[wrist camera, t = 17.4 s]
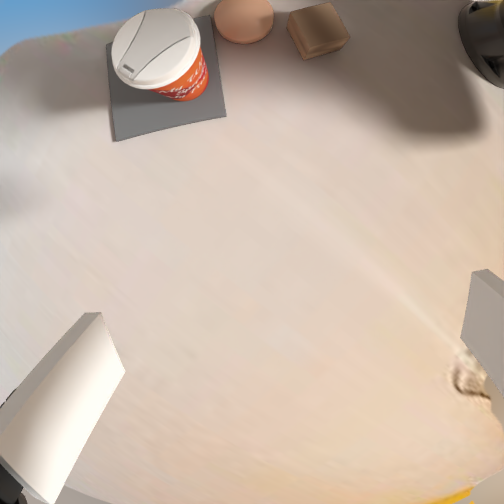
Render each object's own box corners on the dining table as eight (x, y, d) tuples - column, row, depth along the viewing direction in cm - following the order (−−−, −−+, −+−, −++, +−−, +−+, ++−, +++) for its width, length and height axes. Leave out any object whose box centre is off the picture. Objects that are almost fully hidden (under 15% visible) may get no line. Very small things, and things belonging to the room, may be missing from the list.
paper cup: (190, 122, 34) (153, 103, 21) (143, 88, 33) (89, 60, 20) (232, 72, 33) (219, 27, 19) (183, 40, 31) (149, -11, 18)
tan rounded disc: (215, 45, 32) (213, 38, 30) (216, 2, 30) (214, -6, 28) (273, 43, 32) (274, 37, 30) (272, 0, 30) (272, -8, 28)
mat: (210, 17, 31) (210, 15, 30) (226, 116, 35) (225, 115, 34) (108, 45, 32) (106, 44, 31) (118, 141, 36) (116, 141, 35)
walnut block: (322, 18, 31) (330, 2, 26) (339, 50, 32) (350, 36, 27) (286, 28, 31) (290, 11, 26) (303, 60, 33) (309, 47, 28)
